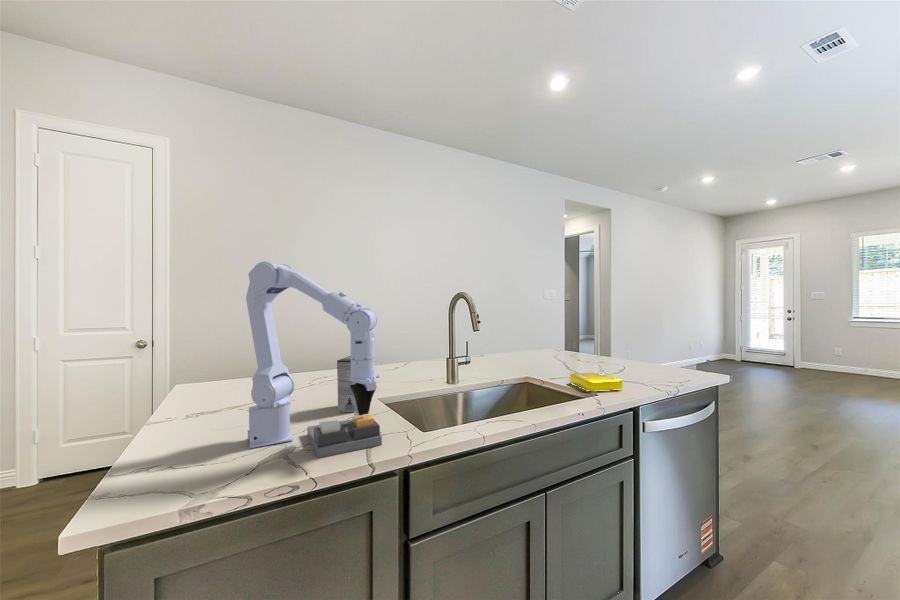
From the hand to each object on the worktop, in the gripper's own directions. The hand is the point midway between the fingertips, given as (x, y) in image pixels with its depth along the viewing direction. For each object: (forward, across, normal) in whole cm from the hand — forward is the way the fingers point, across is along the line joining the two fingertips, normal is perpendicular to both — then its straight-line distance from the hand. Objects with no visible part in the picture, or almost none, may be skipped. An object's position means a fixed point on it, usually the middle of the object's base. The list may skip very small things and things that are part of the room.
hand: (363, 413), depth 91 cm
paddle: (+4, +8, -1) cm, 9 cm away
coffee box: (+7, +29, -5) cm, 30 cm away
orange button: (+3, 0, 0) cm, 3 cm away
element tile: (+8, +9, -94) cm, 95 cm away
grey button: (+3, 0, +8) cm, 9 cm away
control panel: (+7, +4, +4) cm, 9 cm away
